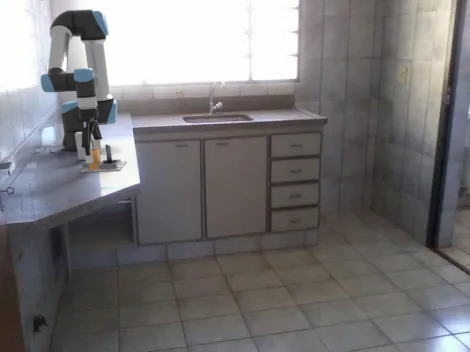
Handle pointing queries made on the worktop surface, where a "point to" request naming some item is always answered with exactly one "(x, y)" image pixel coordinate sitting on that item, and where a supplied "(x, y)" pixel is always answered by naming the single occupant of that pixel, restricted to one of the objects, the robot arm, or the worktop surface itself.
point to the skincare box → (79, 142)
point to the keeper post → (109, 160)
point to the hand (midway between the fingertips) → (94, 159)
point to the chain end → (98, 162)
